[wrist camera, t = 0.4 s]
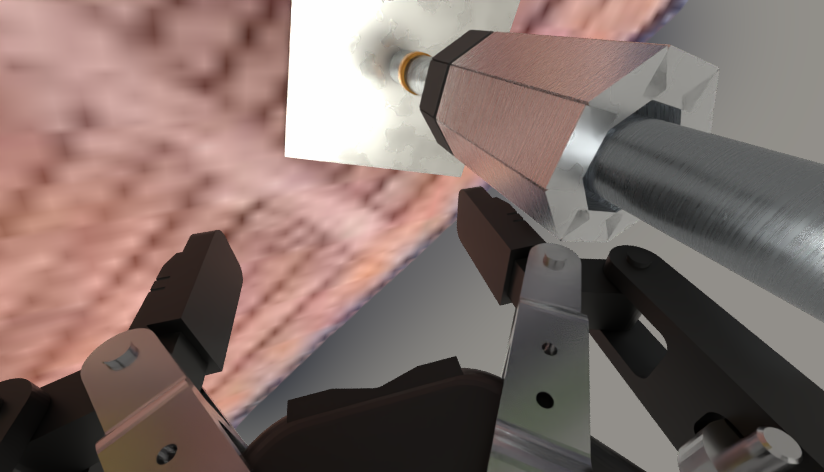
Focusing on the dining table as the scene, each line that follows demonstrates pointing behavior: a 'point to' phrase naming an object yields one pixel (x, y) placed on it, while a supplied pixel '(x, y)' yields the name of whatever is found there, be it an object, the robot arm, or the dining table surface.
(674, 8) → the dining table surface
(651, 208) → the pipe stand
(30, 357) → the dining table surface
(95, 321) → the dining table surface
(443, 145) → the black hex nut
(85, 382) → the robot arm
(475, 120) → the metal sleeve
